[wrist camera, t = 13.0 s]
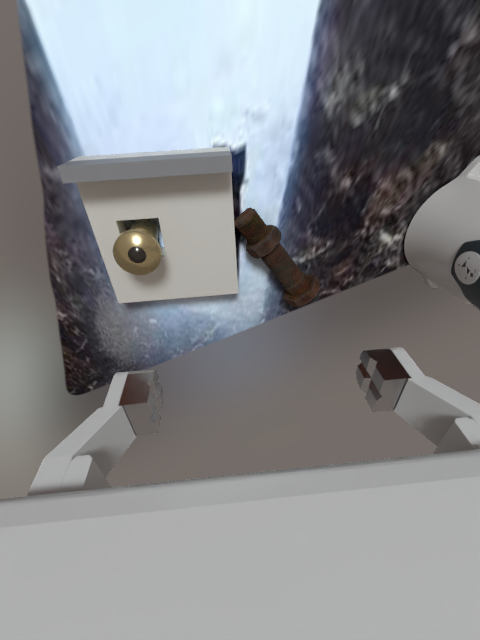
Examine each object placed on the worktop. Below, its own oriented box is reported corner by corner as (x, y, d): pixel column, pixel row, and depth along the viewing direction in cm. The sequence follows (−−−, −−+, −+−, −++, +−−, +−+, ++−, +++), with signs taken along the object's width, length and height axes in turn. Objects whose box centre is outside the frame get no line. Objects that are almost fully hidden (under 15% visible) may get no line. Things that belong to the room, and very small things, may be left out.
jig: (228, 146, 34) (231, 155, 29) (236, 283, 45) (240, 305, 40) (78, 156, 34) (56, 166, 29) (123, 292, 45) (113, 315, 40)
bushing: (157, 208, 38) (152, 228, 32) (169, 246, 41) (166, 270, 35) (117, 216, 38) (104, 238, 32) (132, 253, 41) (123, 279, 35)
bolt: (244, 203, 40) (302, 279, 47) (220, 229, 39) (282, 302, 47) (267, 198, 35) (328, 284, 42) (239, 228, 34) (306, 310, 42)
